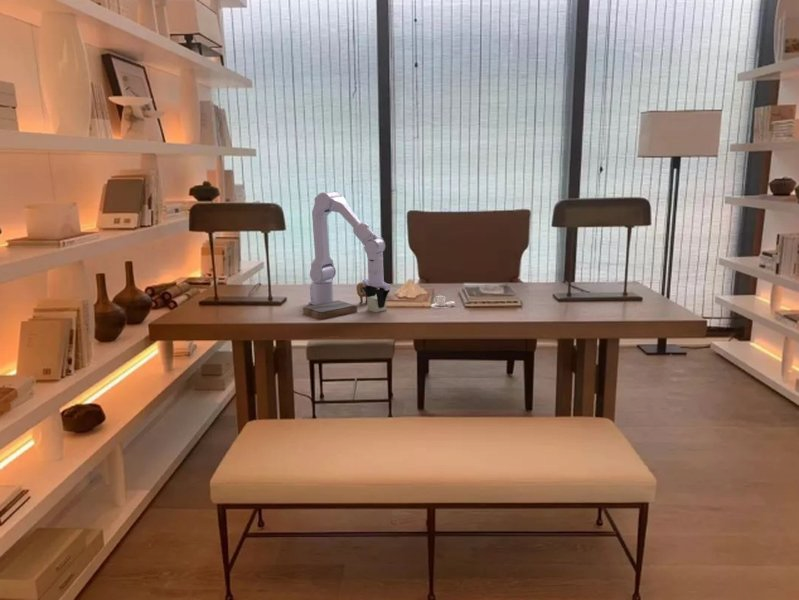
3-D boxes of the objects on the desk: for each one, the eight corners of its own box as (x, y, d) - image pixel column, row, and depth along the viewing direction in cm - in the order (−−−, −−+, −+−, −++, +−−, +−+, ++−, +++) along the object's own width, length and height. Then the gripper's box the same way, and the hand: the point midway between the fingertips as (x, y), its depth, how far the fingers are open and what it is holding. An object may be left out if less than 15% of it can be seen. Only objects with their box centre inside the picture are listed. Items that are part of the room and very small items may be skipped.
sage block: (367, 309, 238) (367, 297, 237) (378, 307, 241) (377, 294, 240) (375, 312, 234) (375, 299, 233) (386, 309, 237) (385, 297, 236)
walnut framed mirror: (303, 313, 235) (302, 307, 234) (338, 306, 245) (338, 300, 244) (321, 319, 226) (320, 312, 225) (357, 311, 236) (356, 305, 235)
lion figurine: (365, 306, 244) (364, 283, 242) (353, 305, 246) (352, 282, 244) (384, 298, 256) (383, 276, 254) (372, 297, 259) (372, 275, 257)
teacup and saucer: (457, 305, 243) (457, 295, 242) (446, 310, 237) (446, 299, 236) (437, 303, 248) (437, 293, 247) (427, 307, 241) (426, 297, 240)
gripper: (355, 269, 237) (356, 304, 240) (379, 274, 226) (380, 311, 230) (370, 267, 242) (371, 301, 245) (394, 272, 231) (395, 308, 234)
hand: (376, 306), depth 237 cm, fingers closed on sage block, 5 cm apart
